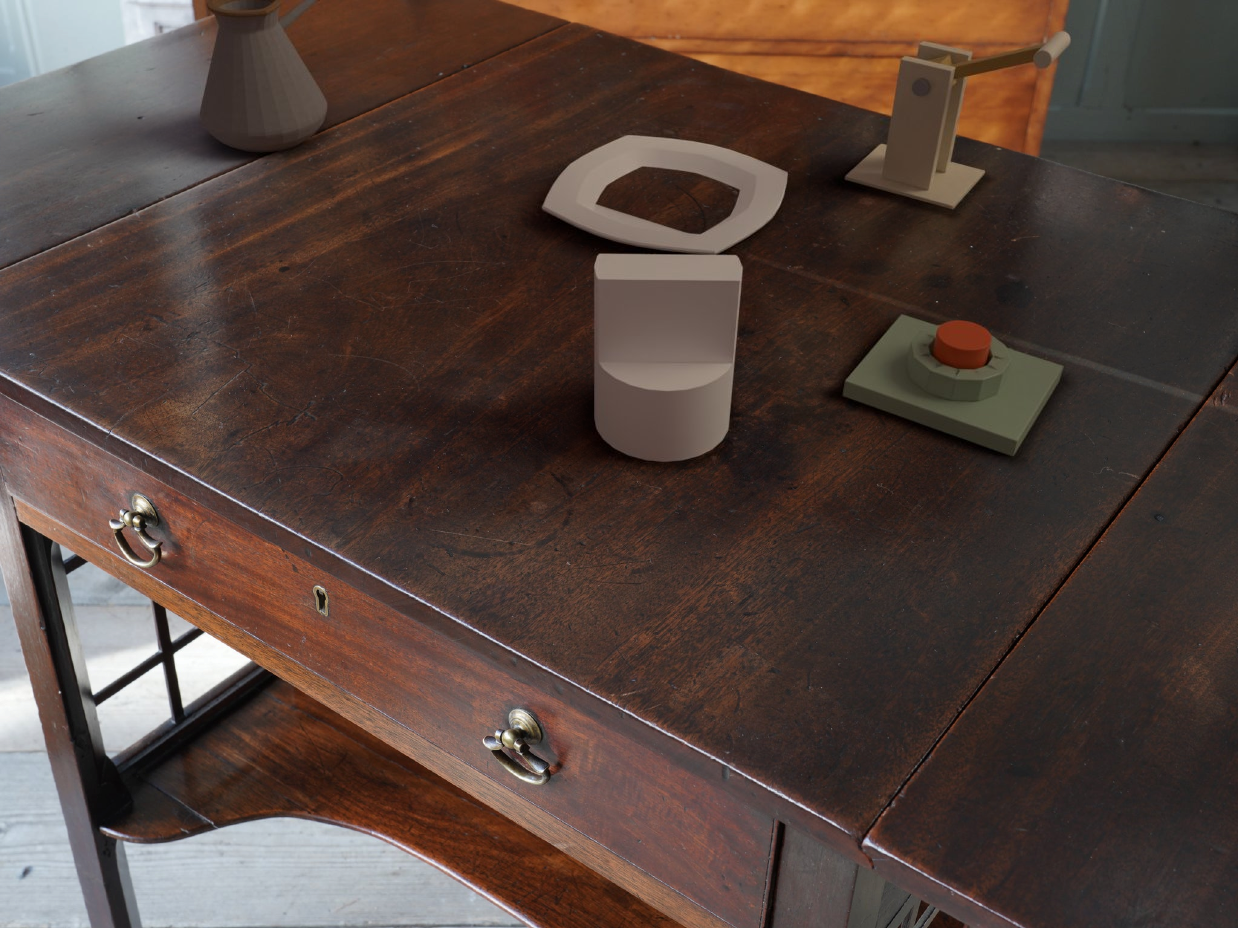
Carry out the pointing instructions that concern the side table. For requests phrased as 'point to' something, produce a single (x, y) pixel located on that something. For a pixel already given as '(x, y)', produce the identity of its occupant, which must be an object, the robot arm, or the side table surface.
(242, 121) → the coffee pot
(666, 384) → the cylinder with rectangular tab
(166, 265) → the side table surface
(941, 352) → the lamp button
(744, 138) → the side table surface
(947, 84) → the bracket
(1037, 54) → the lever handle
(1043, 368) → the button housing
